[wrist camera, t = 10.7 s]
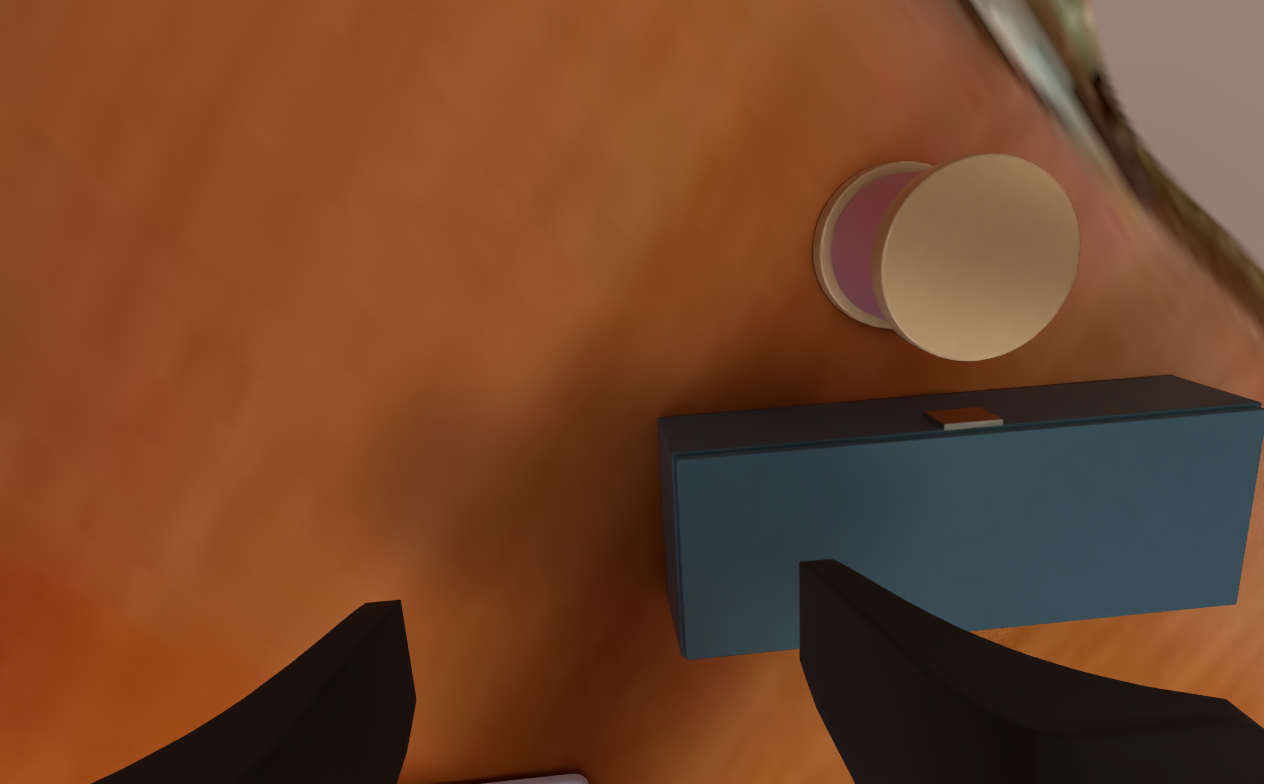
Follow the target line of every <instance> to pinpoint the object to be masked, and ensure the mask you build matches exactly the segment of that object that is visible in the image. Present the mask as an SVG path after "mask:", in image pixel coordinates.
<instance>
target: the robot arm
mask: <svg viewBox="0 0 1264 784" xmlns="http://www.w3.org/2000/svg"><path fill="white" fill-rule="evenodd" d="M799 619H800V662H801V665H802V668H803V671H804V674H805V677H806V680H807V683H808V686H809V689H810V691H811V694H812V697H813V699H814V702H815V705H816V708H817V710H818V712H819V714H820V716H821V718H822V720H823V722H824V724H825V726H826V728H827V730H828V732H829V734H830V736H831V738H832V740H833V742H834V744H835V745H836V747H837V749H838V751H839V753H840V755H841V757H842V759H843V761H844V763H845V765H846V767H847V769H848V771H849V772H850V774H851V776H852V778H853V780H854V782H855V784H1264V729H1263V728H1262V727H1261V726H1260V725H1258V724H1257V723H1256V722H1255V721H1253V720H1252V719H1251V718H1249V717H1248V716H1247V715H1246V714H1244V713H1243V712H1242V711H1240V710H1239V709H1238V708H1237V707H1235V706H1234V705H1233V704H1231V703H1230V702H1229V701H1228V700H1226V699H1222V698H1215V697H1209V696H1203V695H1196V694H1190V693H1184V692H1177V691H1171V690H1165V689H1158V688H1152V687H1147V686H1142V685H1137V684H1133V683H1129V682H1124V681H1120V680H1115V679H1111V678H1106V677H1102V676H1098V675H1094V674H1090V673H1086V672H1083V671H1079V670H1075V669H1071V668H1068V667H1065V666H1062V665H1058V664H1055V663H1052V662H1049V661H1045V660H1042V659H1039V658H1036V657H1033V656H1030V655H1027V654H1024V653H1021V652H1018V651H1015V650H1013V649H1010V648H1007V647H1005V646H1002V645H1000V644H997V643H995V642H992V641H990V640H987V639H985V638H982V637H980V636H977V635H975V634H973V633H970V632H968V631H966V630H964V629H961V628H959V627H957V626H955V625H953V624H951V623H949V622H947V621H945V620H943V619H941V618H939V617H937V616H935V615H933V614H931V613H929V612H927V611H925V610H923V609H921V608H919V607H917V606H916V605H914V604H912V603H910V602H908V601H906V600H905V599H903V598H901V597H899V596H898V595H896V594H894V593H892V592H891V591H889V590H887V589H885V588H884V587H882V586H880V585H878V584H877V583H875V582H873V581H872V580H870V579H868V578H867V577H865V576H863V575H861V574H860V573H858V572H856V571H855V570H853V569H851V568H849V567H848V566H846V565H844V564H842V563H840V562H838V561H836V560H834V559H823V560H813V561H802V562H799ZM415 704H416V694H415V688H414V681H413V675H412V669H411V662H410V656H409V650H408V643H407V637H406V631H405V624H404V618H403V612H402V606H401V600H392V601H381V602H371V603H365V604H364V605H362V606H361V607H359V608H358V609H357V610H355V611H354V612H353V613H351V614H350V615H349V616H348V617H347V618H345V619H344V620H343V621H342V622H340V623H339V624H338V625H337V626H336V627H334V628H333V629H332V630H331V631H330V632H328V633H327V634H326V635H325V636H324V637H322V638H321V639H320V640H319V641H318V642H316V643H315V644H314V645H313V646H311V647H310V648H309V649H308V650H307V651H305V652H304V653H303V654H302V655H300V656H299V657H298V658H297V659H296V660H294V661H293V662H292V663H291V664H289V665H288V666H287V667H285V668H284V669H283V670H281V671H280V672H279V673H277V674H276V675H275V676H273V677H272V678H271V679H269V680H268V681H267V682H265V683H264V684H263V685H261V686H260V687H259V688H257V689H256V690H255V691H253V692H252V693H251V694H249V695H248V696H246V697H245V698H244V699H242V700H241V701H239V702H238V703H236V704H235V705H233V706H232V707H230V708H229V709H227V710H226V711H224V712H223V713H221V714H220V715H218V716H216V717H215V718H213V719H212V720H210V721H208V722H207V723H205V724H203V725H202V726H200V727H199V728H197V729H195V730H194V731H192V732H190V733H189V734H187V735H185V736H184V737H182V738H180V739H178V740H176V741H174V742H172V743H171V744H169V745H167V746H165V747H163V748H161V749H159V750H157V751H156V752H154V753H152V754H150V755H148V756H146V757H144V758H143V759H141V760H139V761H137V762H135V763H133V764H131V765H129V766H127V767H125V768H123V769H121V770H119V771H117V772H115V773H113V774H111V775H109V776H107V777H104V778H102V779H100V780H98V781H96V782H94V783H92V784H397V781H398V778H399V775H400V772H401V769H402V766H403V762H404V759H405V756H406V753H407V748H408V743H409V738H410V733H411V728H412V722H413V716H414V710H415ZM483 784H588V781H587V779H586V778H585V777H584V776H582V775H580V774H565V775H556V776H546V777H537V778H528V779H519V780H510V781H501V782H492V783H483Z"/></svg>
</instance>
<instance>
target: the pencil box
mask: <svg viewBox="0 0 1264 784" xmlns="http://www.w3.org/2000/svg"><path fill="white" fill-rule="evenodd" d="M657 421H658V439H659V456H660V474H661V492H662V510H663V528H664V545H665V563H666V581H667V598H668V602H669V606H670V610H671V615H672V619H673V623H674V627H675V631H676V636H677V640H678V644H679V648H680V652H681V656H682V657H686V659H687V660H693V659H702V658H712V657H722V656H732V655H742V654H752V653H761V652H771V651H781V650H791V649H800V619H799V562H802V561H813V560H823V559H834V560H836V561H838V562H840V563H842V564H844V565H846V566H848V567H849V568H851V569H853V570H855V571H856V572H858V573H860V574H861V575H863V576H865V577H867V578H868V579H870V580H872V581H873V582H875V583H877V584H878V585H880V586H882V587H884V588H885V589H887V590H889V591H891V592H892V593H894V594H896V595H898V596H899V597H901V598H903V599H905V600H906V601H908V602H910V603H912V604H914V605H916V606H917V607H919V608H921V609H923V610H925V611H927V612H929V613H931V614H933V615H935V616H937V617H939V618H941V619H943V620H945V621H947V622H949V623H951V624H953V625H955V626H957V627H959V628H961V629H964V630H966V631H977V630H987V629H997V628H1007V627H1017V626H1026V625H1036V624H1046V623H1056V622H1066V621H1076V620H1085V619H1095V618H1105V617H1115V616H1125V615H1134V614H1144V613H1154V612H1164V611H1174V610H1184V609H1193V608H1203V607H1213V606H1223V605H1233V604H1236V602H1237V596H1238V590H1239V584H1240V578H1241V572H1242V565H1243V559H1244V553H1245V547H1246V541H1247V535H1248V528H1249V522H1250V516H1251V510H1252V504H1253V498H1254V491H1255V485H1256V479H1257V473H1258V467H1259V461H1260V454H1261V448H1262V442H1263V436H1264V408H1261V403H1260V402H1258V401H1254V400H1251V399H1248V398H1244V397H1241V396H1238V395H1235V394H1231V393H1228V392H1225V391H1222V390H1218V389H1215V388H1212V387H1208V386H1205V385H1202V384H1199V383H1195V382H1192V381H1189V380H1186V379H1182V378H1179V377H1176V376H1173V375H1167V376H1155V377H1143V378H1131V379H1119V380H1107V381H1095V382H1082V383H1070V384H1058V385H1046V386H1034V387H1022V388H1010V389H998V390H986V391H974V392H962V393H950V394H937V395H925V396H913V397H901V398H889V399H877V400H865V401H853V402H841V403H829V404H817V405H804V406H792V407H780V408H768V409H756V410H744V411H732V412H720V413H708V414H696V415H684V416H671V417H659V418H658V419H657Z"/></svg>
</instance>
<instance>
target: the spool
mask: <svg viewBox="0 0 1264 784" xmlns="http://www.w3.org/2000/svg"><path fill="white" fill-rule="evenodd" d="M1079 255H1080V235H1079V226H1078V222H1077V218H1076V214H1075V211H1074V209H1073V206H1072V204H1071V202H1070V200H1069V198H1068V196H1067V194H1066V193H1065V191H1064V190H1063V189H1062V187H1061V186H1060V185H1059V183H1058V182H1057V181H1056V180H1055V179H1054V178H1053V177H1052V176H1051V175H1050V174H1049V173H1048V172H1046V171H1045V170H1043V169H1042V168H1041V167H1039V166H1038V165H1036V164H1034V163H1032V162H1030V161H1028V160H1026V159H1023V158H1020V157H1016V156H1013V155H1007V154H1000V153H985V154H974V155H966V156H959V157H956V158H952V159H948V160H946V161H943V162H941V163H938V164H936V165H934V166H933V165H930V164H926V163H922V162H916V161H898V162H889V163H883V164H879V165H875V166H872V167H870V168H867V169H865V170H863V171H861V172H859V173H858V174H856V175H854V176H853V177H851V178H850V179H849V180H848V181H846V182H845V183H844V184H843V185H842V186H841V187H840V188H839V189H838V190H837V191H836V192H835V193H834V194H833V196H832V197H831V198H830V199H829V201H828V203H827V204H826V206H825V208H824V209H823V211H822V214H821V216H820V218H819V220H818V224H817V227H816V230H815V235H814V240H813V262H814V267H815V272H816V275H817V278H818V281H819V284H820V286H821V288H822V290H823V291H824V293H825V294H826V296H827V297H828V299H829V300H830V301H831V302H832V303H833V304H834V305H835V307H837V308H838V309H839V310H840V311H842V312H843V313H844V314H846V315H848V316H849V317H851V318H853V319H855V320H857V321H860V322H862V323H864V324H867V325H870V326H874V327H877V328H885V329H894V331H895V332H896V333H897V334H898V335H900V336H901V337H902V338H903V339H904V340H906V341H907V342H909V343H910V344H912V345H914V346H915V347H917V348H920V349H922V350H924V351H926V352H928V353H931V354H933V355H936V356H938V357H941V358H945V359H949V360H956V361H979V360H985V359H990V358H994V357H997V356H1001V355H1003V354H1005V353H1008V352H1010V351H1013V350H1014V349H1016V348H1018V347H1020V346H1022V345H1023V344H1025V343H1026V342H1028V341H1029V340H1031V339H1032V338H1033V337H1035V336H1036V335H1037V334H1038V333H1039V332H1040V331H1041V330H1043V329H1044V328H1045V327H1046V326H1047V325H1048V323H1049V322H1050V321H1051V320H1052V319H1053V318H1054V317H1055V315H1056V314H1057V312H1058V311H1059V309H1060V308H1061V307H1062V305H1063V303H1064V301H1065V299H1066V298H1067V296H1068V294H1069V292H1070V289H1071V287H1072V284H1073V282H1074V279H1075V275H1076V272H1077V268H1078V262H1079Z"/></svg>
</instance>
